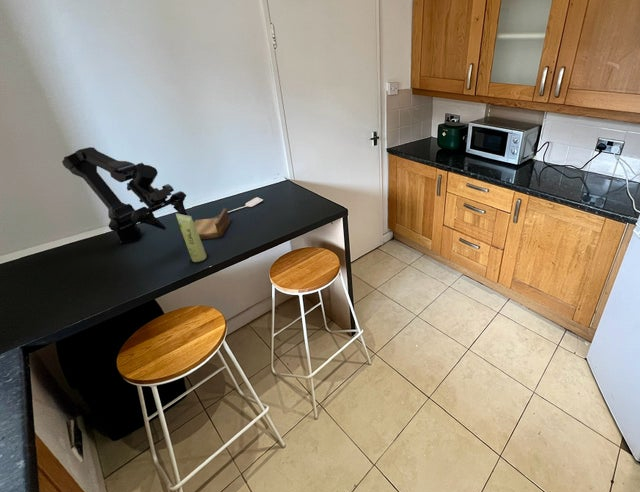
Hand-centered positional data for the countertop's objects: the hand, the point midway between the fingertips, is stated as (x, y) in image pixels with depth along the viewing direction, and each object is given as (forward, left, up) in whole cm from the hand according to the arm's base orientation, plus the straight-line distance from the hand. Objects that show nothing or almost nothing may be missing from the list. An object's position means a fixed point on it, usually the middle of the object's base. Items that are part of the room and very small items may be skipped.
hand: (176, 223), depth 119 cm
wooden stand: (+6, +15, -13) cm, 21 cm away
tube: (+5, -7, -14) cm, 16 cm away
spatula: (+15, +32, -14) cm, 38 cm away
